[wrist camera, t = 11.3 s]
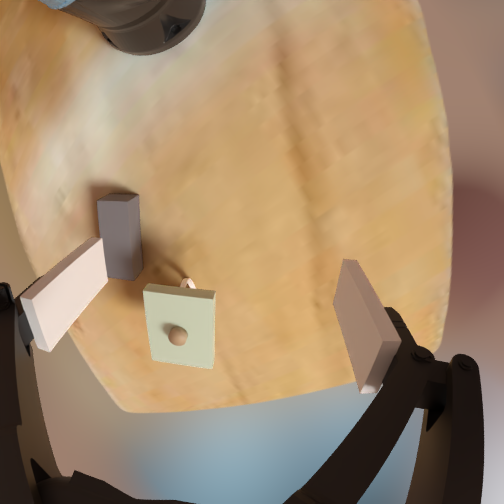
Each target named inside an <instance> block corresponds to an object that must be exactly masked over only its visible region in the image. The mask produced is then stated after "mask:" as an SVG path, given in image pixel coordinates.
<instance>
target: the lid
mask: <svg viewBox="0 0 504 504" xmlns="http://www.w3.org/2000/svg"><path fill="white" fill-rule="evenodd" d="M215 293H216V291H211V290H202V289H193V288H184V287H176V286H167V285H159V284H151V283H148V284H147V285H146V287H145V288H144V290H143V298H144V306H145V314H146V322H147V329H148V336H149V343H150V349H151V355H152V360H155V361H161V362H167V363H173V364H179V365H186V366H192V367H200V368H207V369H213V364H214V347H215Z"/></svg>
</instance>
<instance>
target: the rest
mask: <svg viewBox="0 0 504 504" xmlns="http://www.w3.org/2000/svg"><path fill="white" fill-rule="evenodd" d="M97 210H98V221H99V231H100V238H102V241H103V249H104V257H105V265H106V271H107V277H108V278H116V279H123V280H131V281H134V280H135V279H136V278H137V276H138V275H139V274H140V272H141V271H142V270H143V260H142V247H141V231H140V211H139V195H133V194H108V195H106V196H105V197H103V198H101V199H99V200H97Z"/></svg>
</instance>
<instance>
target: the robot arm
mask: <svg viewBox="0 0 504 504" xmlns="http://www.w3.org/2000/svg"><path fill="white" fill-rule="evenodd" d="M38 1H40V2H42V3H44V4H46V5H47V6H48V7H49V8H51V9H56V10H57V9H58V10H61V11H63V12H66V13H69V14H71V15H74V16H76V17H79V18H81V19H83V20H86V21H88V22H90V23H92V24H95V25H97V26H98V27H99V29H100V31H101V32H102V34H103V36H104V38H105V39H106V40H107V42H108V43H109V44H110V45H112V46H113V47H115V48H116V49H118V50H121V51H123V52H125V53H128V54H132V55H152V54H156V53H160V52H163V51H165V50H167V49H170V48H172V47H173V46H175V45H177V44H178V43H180V42H181V41H183V40H184V39H185V38H186V37H187V36H188V35H189V34H190V33H191V32H192V31H193V30H194V29H195V28H196V26H197V25H198V23H199V22H200V20H201V18H202V16H203V13H204V10H205V4H206V0H38ZM107 282H108V278H107V271H106V265H105V257H104V249H103V241H102V238H95V237H91V238H89V239H88V240H87V241H85V242H84V243H83V244H82V245H80V246H79V247H78V248H77V249H75V250H74V251H73V252H71V253H70V254H69V255H68V256H67V257H65V258H64V259H63V260H62V261H60V262H59V263H58V264H57V265H56V266H54V267H53V268H52V269H51V270H50V271H48V272H47V273H46V274H45V275H43V276H41V277H39V278H38V279H37V280H35V281H34V282H33V284H31V285H30V286H29V287H28V288H26V289H25V290H24V291H23V292H22V293H21V294H20V295H19V296H17V297H16V298H15V299H14V298H13V295H12V291H11V288H10V285H9V284H8V283H5V282H2V283H0V504H194V503H189V502H183V501H177V500H141V499H135V498H132V497H131V496H129V495H127V494H125V493H123V492H122V491H120V490H118V489H116V488H114V487H113V486H111V485H110V484H108V483H106V482H105V481H102V480H99V479H97V478H94V477H91V476H88V475H86V474H83V473H81V472H78V471H74V473H73V475H72V477H64V476H62V475H61V473H60V471H59V469H58V467H57V465H56V462H55V458H54V455H53V452H52V448H51V445H50V441H49V437H48V434H47V430H46V426H45V422H44V417H43V413H42V408H41V403H40V398H39V392H38V387H37V381H36V374H35V367H34V359H33V350H32V347H31V345H30V342H31V341H32V339H35V342H36V344H37V347H38V348H39V349H42V350H45V351H48V352H51V350H52V349H53V347H54V346H55V345H56V344H57V342H58V341H59V340H60V339H61V337H62V336H63V335H64V334H65V332H66V331H67V330H68V328H69V327H70V326H71V325H72V323H73V322H74V321H75V320H76V319H77V317H78V316H79V315H80V314H81V312H82V311H83V310H84V309H85V308H86V306H87V305H88V304H89V303H90V302H91V300H92V299H93V298H94V297H95V296H96V295H97V293H98V292H99V291H100V290H101V289H102V288H103V286H104V285H105V284H106V283H107ZM333 305H334V308H335V311H336V315H337V318H338V321H339V324H340V327H341V330H342V334H343V337H344V340H345V343H346V347H347V350H348V353H349V357H350V360H351V364H352V367H353V371H354V374H355V378H356V381H357V385H358V388H359V392H360V393H361V394H362V393H377V392H378V390H379V388H380V386H381V384H382V383H383V387H382V388H381V390H380V391H379V393H378V394H377V395H376V397H375V399H374V400H373V401H372V403H371V404H370V406H369V407H368V408H367V410H366V411H365V413H364V414H363V415H362V417H361V418H360V420H359V421H358V422H357V423H356V425H355V426H354V428H353V429H352V430H351V432H350V433H349V434H348V435H347V436H346V438H345V439H344V440H343V442H342V443H341V444H340V445H339V446H338V448H337V449H336V450H335V451H334V453H333V454H332V455H331V456H330V457H329V458H328V460H327V461H326V462H325V463H324V464H323V465H322V466H321V468H320V469H319V470H318V471H317V472H316V473H315V474H314V475H313V476H312V477H311V479H310V480H309V481H308V482H307V483H306V484H305V485H304V486H303V487H302V488H301V489H299V490H297V491H296V492H295V493H294V494H292V495H291V497H289V498H288V499H287V500H286V501H285V502H284V503H283V504H357V502H358V501H359V499H360V498H361V497H362V495H363V494H364V493H365V491H366V489H367V488H368V487H369V485H370V484H371V482H372V481H373V480H374V478H375V477H376V475H377V473H378V472H379V470H380V469H381V467H382V466H383V464H384V463H385V461H386V459H387V458H388V456H389V454H390V453H391V451H392V449H393V447H394V446H395V444H396V442H397V441H398V439H399V437H400V435H401V433H402V432H403V430H404V428H405V426H406V424H407V422H408V420H409V418H410V416H411V414H412V412H413V410H414V408H421V409H424V415H423V423H422V429H421V435H420V441H419V447H418V452H417V458H416V463H415V467H414V472H413V476H412V480H411V485H410V489H409V492H408V497H407V500H406V503H405V504H481V497H482V486H483V471H484V419H483V403H482V391H481V382H480V374H479V367H478V365H477V363H476V362H475V361H474V359H473V358H471V357H469V356H467V355H465V354H457V355H455V356H454V357H453V358H452V360H451V362H450V363H448V362H442V361H437V360H435V358H434V355H433V354H432V353H431V352H430V351H429V350H428V349H426V348H424V347H422V346H418V345H417V344H416V342H415V340H414V338H413V337H412V335H411V333H410V331H409V330H408V328H407V326H406V324H405V323H404V322H403V319H402V318H401V316H400V314H399V313H398V312H397V311H395V310H394V309H393V308H392V307H383V305H382V303H381V301H380V300H379V298H378V296H377V294H376V293H375V291H374V289H373V287H372V286H371V284H370V282H369V280H368V279H367V277H366V275H365V273H364V272H363V270H362V268H361V267H360V265H359V263H358V262H357V260H349V259H343V262H342V266H341V271H340V276H339V280H338V284H337V289H336V293H335V297H334V301H333Z"/></svg>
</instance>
